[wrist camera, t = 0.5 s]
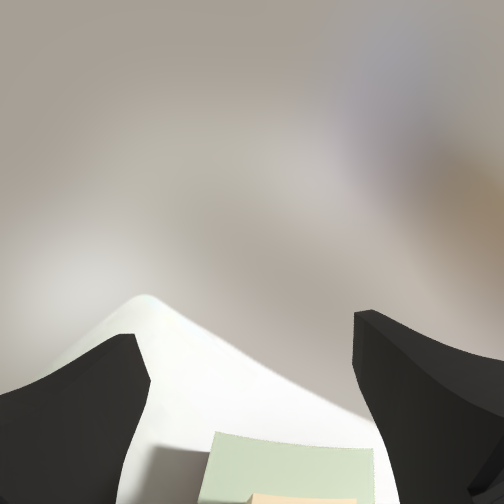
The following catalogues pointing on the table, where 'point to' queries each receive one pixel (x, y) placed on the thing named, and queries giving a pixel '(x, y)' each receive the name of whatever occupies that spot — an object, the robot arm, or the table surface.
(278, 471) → the lid
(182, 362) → the table surface
